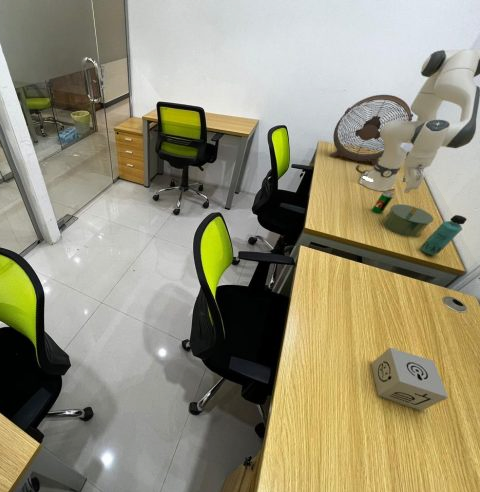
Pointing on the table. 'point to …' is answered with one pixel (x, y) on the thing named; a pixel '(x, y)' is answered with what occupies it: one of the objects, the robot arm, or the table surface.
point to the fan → (367, 128)
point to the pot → (402, 225)
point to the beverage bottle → (443, 235)
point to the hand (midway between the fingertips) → (405, 186)
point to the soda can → (382, 202)
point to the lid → (411, 214)
